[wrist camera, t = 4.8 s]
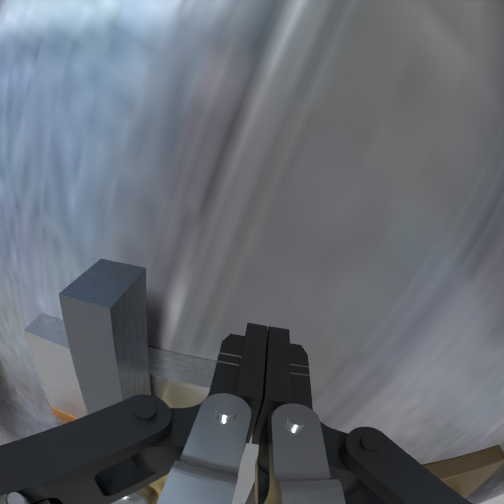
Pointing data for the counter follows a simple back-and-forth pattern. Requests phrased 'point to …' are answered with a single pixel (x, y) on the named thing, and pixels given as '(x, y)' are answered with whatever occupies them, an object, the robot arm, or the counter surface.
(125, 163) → the counter surface
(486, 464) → the lamp
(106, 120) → the counter surface
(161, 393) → the housing
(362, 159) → the counter surface
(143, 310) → the brass and grey lever
